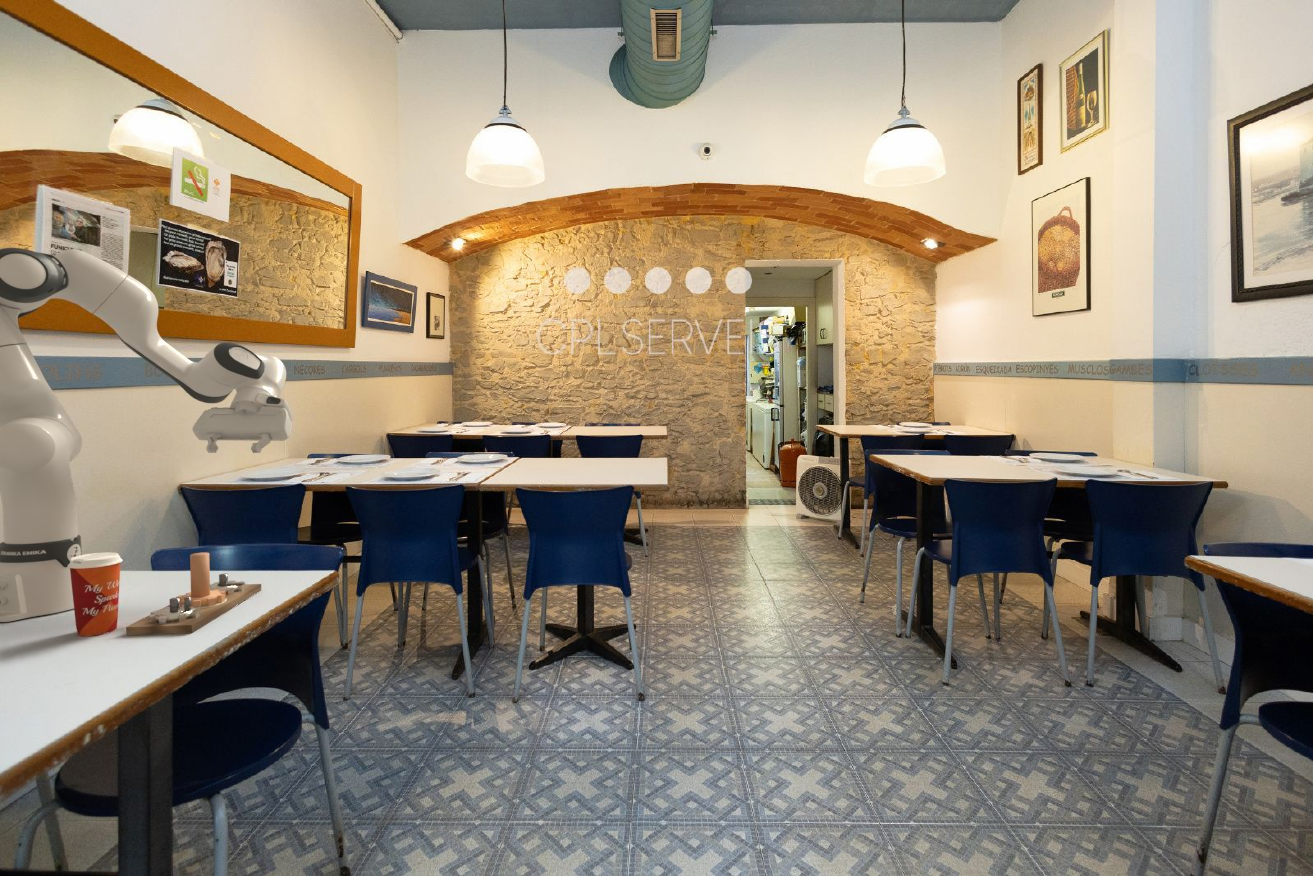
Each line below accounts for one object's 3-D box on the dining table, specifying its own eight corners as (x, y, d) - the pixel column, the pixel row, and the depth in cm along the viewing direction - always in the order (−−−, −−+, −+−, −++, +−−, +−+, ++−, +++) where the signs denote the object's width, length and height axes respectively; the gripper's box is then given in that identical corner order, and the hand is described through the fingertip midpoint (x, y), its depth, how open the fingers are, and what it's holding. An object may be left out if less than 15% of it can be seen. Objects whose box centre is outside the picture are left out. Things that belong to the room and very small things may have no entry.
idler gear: (165, 609, 128) (164, 559, 127) (189, 597, 136) (188, 550, 136) (212, 608, 129) (211, 558, 128) (233, 596, 137) (232, 549, 137)
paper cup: (92, 640, 115) (90, 562, 115) (57, 636, 117) (55, 559, 116) (135, 625, 123) (133, 552, 122) (102, 622, 125) (101, 550, 124)
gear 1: (138, 624, 119) (138, 604, 119) (164, 611, 127) (164, 592, 127) (185, 623, 120) (185, 603, 120) (208, 610, 128) (208, 591, 128)
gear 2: (193, 596, 137) (193, 579, 137) (213, 586, 145) (213, 570, 145) (234, 595, 138) (234, 578, 138) (252, 585, 146) (251, 569, 146)
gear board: (125, 635, 118) (125, 626, 118) (208, 591, 146) (208, 584, 146) (192, 633, 120) (191, 624, 120) (261, 590, 147) (261, 583, 147)
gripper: (200, 398, 154) (177, 441, 145) (292, 399, 157) (275, 442, 148) (211, 416, 159) (189, 460, 150) (300, 417, 162) (284, 460, 153)
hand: (233, 451), depth 149 cm, fingers open, 8 cm apart
